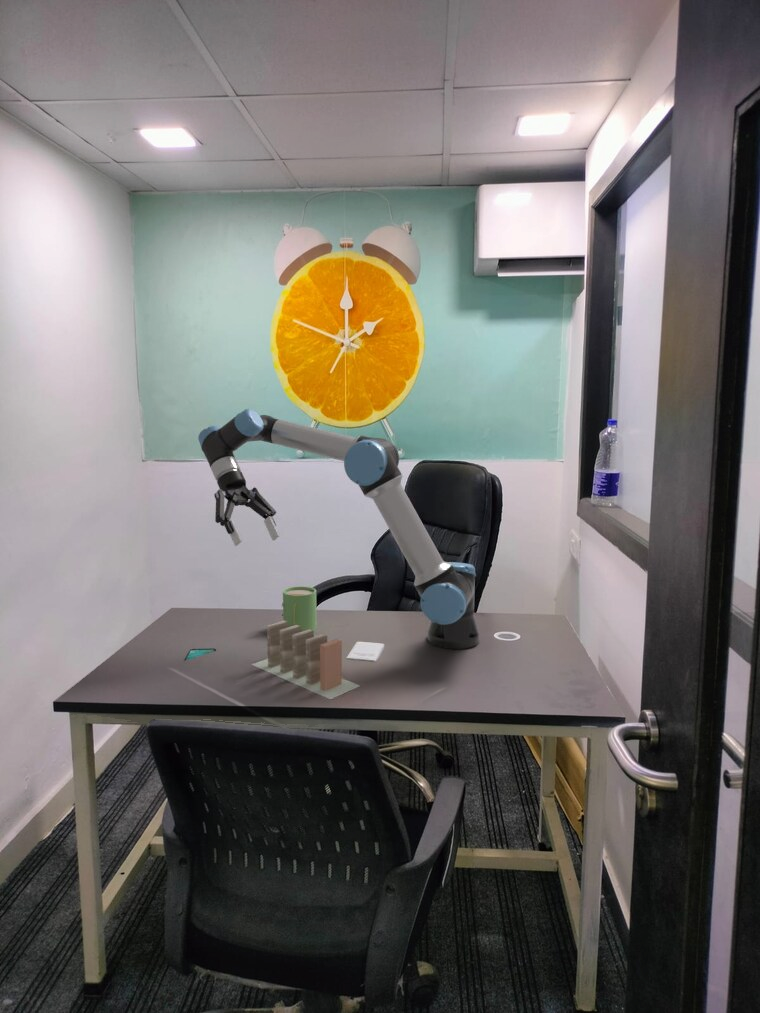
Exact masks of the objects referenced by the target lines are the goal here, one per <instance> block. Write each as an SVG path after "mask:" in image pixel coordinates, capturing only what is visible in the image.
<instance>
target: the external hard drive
mask: <svg viewBox="0 0 760 1013" xmlns="http://www.w3.org/2000/svg"><path fill="white" fill-rule="evenodd" d="M384 649H385V644H384V643H381V642H380V643H379V642H368V641H366V642H365V641H356V642H355V644H354V645H353V647H352V648H351V650H350V652H349V653H348V655H347V656H346V658H345V659H346V660H353V661H354V660H355V661H365V662H366V661H367V662H376V661H378V660H379V658H380V656H381V655H382V652H383V650H384Z"/></svg>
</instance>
